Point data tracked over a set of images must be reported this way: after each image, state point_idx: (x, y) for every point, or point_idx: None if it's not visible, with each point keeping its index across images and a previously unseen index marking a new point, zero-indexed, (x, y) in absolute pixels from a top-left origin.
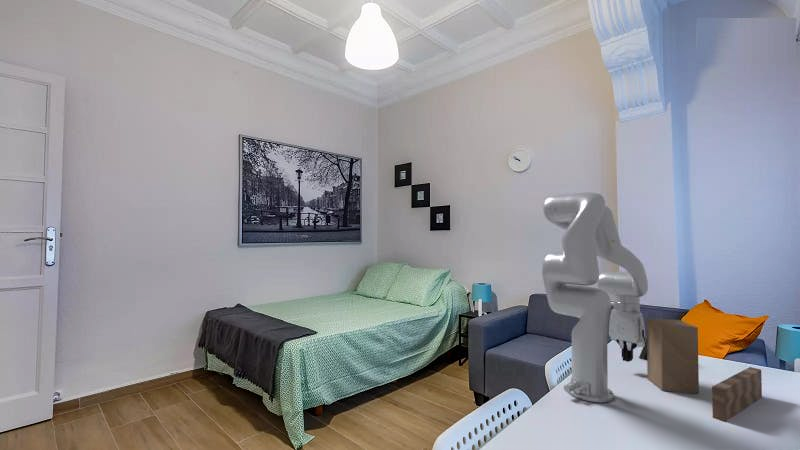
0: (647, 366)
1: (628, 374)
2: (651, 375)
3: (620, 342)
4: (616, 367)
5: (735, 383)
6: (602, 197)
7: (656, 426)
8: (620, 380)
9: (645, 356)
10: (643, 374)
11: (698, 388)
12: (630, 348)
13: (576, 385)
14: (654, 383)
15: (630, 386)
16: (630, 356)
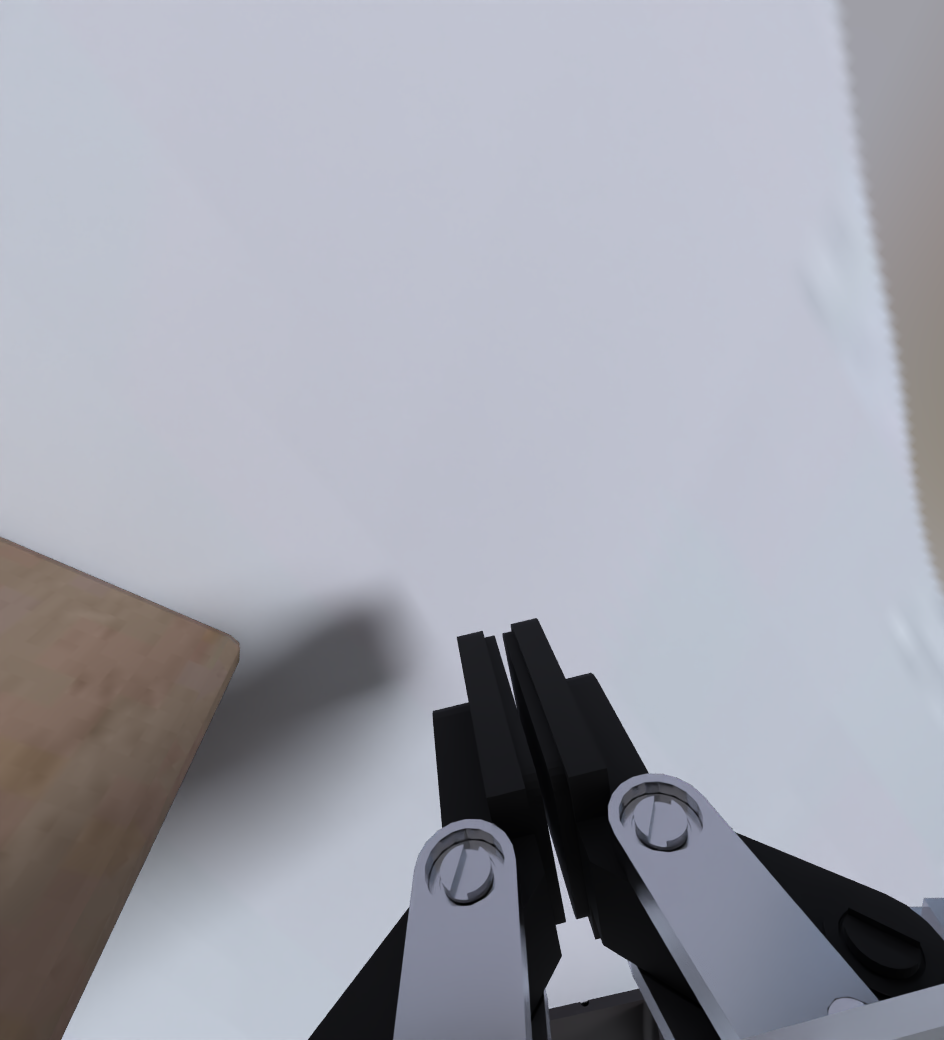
0: (166, 740)
1: (426, 547)
2: (74, 628)
3: (765, 932)
4: (642, 607)
5: None
6: None
7: None
8: (284, 227)
9: (657, 1034)
10: (369, 706)
11: None
12: (421, 894)
13: None
14: (32, 554)
15: (32, 138)
16: (436, 739)
